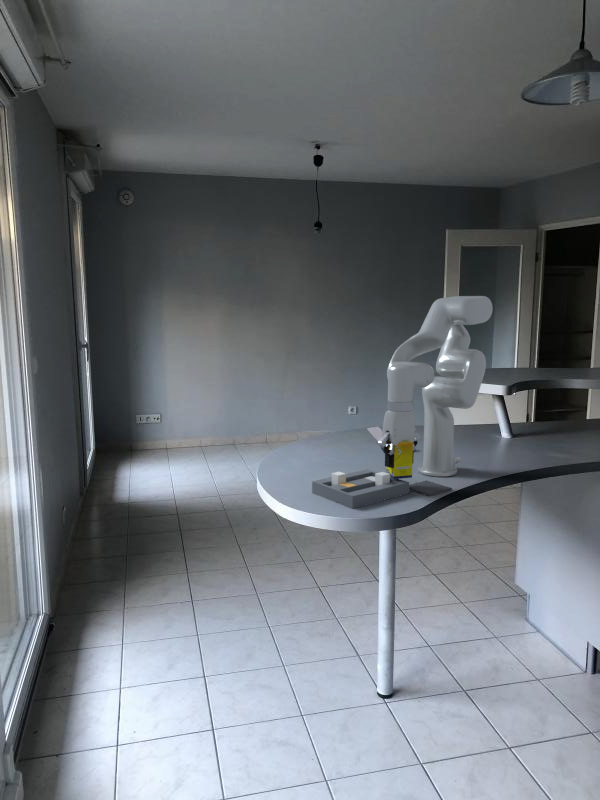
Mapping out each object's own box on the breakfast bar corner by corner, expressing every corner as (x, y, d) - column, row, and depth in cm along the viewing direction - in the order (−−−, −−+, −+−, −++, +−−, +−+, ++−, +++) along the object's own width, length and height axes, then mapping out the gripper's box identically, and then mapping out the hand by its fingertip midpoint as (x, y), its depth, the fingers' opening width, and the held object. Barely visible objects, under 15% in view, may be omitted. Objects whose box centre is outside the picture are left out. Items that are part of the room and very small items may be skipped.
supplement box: (385, 474, 190) (386, 438, 188) (404, 472, 191) (405, 437, 190) (393, 479, 184) (394, 442, 183) (412, 477, 186) (413, 441, 184)
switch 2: (382, 483, 186) (382, 471, 186) (389, 486, 184) (389, 473, 183) (375, 485, 184) (375, 473, 184) (382, 488, 182) (382, 475, 182)
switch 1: (339, 483, 187) (339, 471, 186) (345, 485, 184) (345, 473, 184) (331, 485, 185) (331, 473, 184) (338, 487, 183) (338, 475, 182)
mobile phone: (377, 426, 255) (418, 437, 234) (377, 440, 256) (418, 452, 235) (365, 428, 252) (406, 439, 231) (365, 442, 253) (406, 455, 232)
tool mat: (426, 482, 196) (426, 480, 196) (451, 489, 188) (451, 487, 188) (403, 488, 190) (403, 486, 190) (428, 496, 182) (428, 494, 182)
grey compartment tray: (367, 480, 198) (367, 469, 198) (408, 493, 184) (409, 481, 184) (312, 492, 185) (312, 481, 185) (352, 508, 171) (352, 495, 171)
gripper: (411, 402, 193) (410, 458, 195) (369, 407, 182) (369, 466, 185) (430, 405, 187) (428, 463, 190) (388, 411, 177) (387, 472, 179)
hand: (399, 464), depth 187 cm, fingers closed on supplement box, 7 cm apart
